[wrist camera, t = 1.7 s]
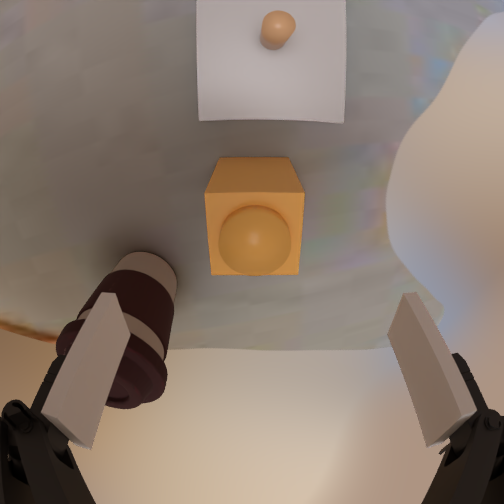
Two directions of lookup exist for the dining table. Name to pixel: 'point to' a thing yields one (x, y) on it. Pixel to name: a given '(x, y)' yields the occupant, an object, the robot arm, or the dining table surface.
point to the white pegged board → (271, 60)
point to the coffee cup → (135, 326)
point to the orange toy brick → (254, 216)
